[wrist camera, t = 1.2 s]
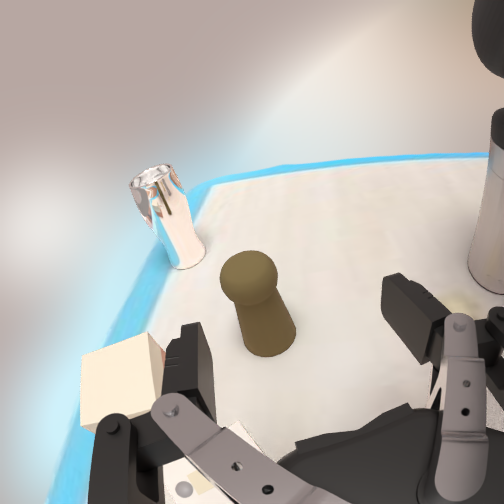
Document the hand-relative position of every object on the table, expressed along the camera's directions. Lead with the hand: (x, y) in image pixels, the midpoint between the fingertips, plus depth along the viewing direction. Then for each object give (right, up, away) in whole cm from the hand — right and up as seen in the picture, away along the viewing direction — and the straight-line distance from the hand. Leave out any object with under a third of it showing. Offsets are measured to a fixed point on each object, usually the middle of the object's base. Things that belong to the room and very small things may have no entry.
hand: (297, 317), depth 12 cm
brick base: (-14, -14, +17) cm, 26 cm away
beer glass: (-12, +2, +35) cm, 37 cm away
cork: (0, -7, +21) cm, 22 cm away
